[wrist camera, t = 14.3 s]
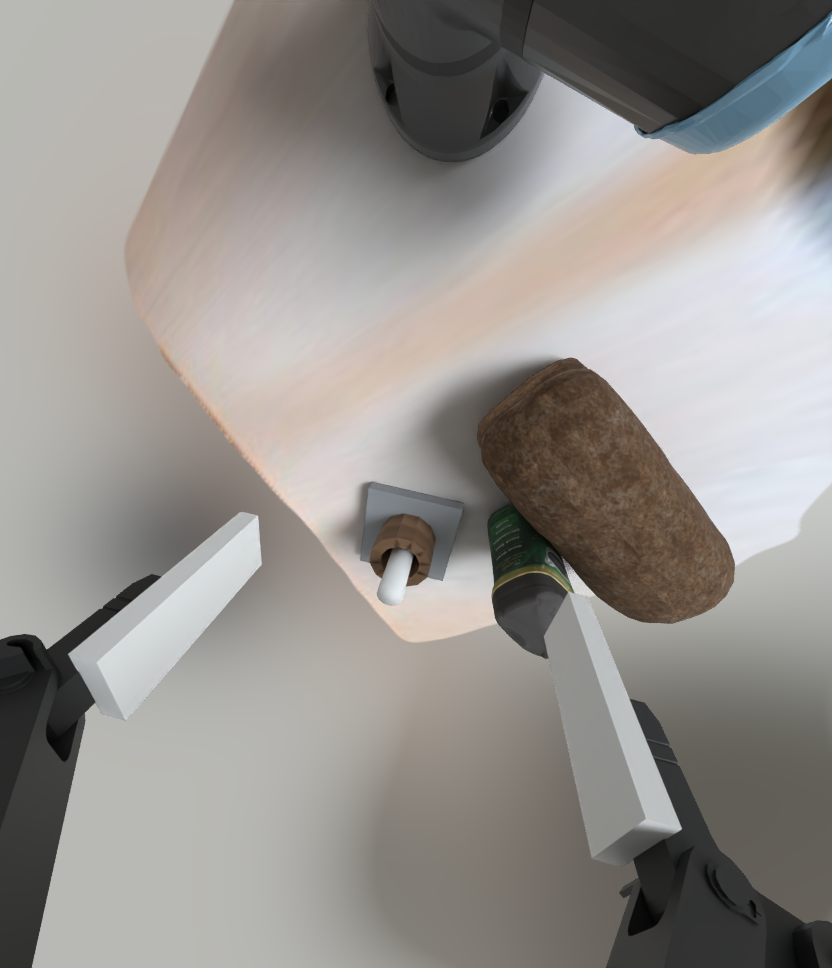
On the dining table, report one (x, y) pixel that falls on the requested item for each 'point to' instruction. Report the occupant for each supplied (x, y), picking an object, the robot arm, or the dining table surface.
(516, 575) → the coffee jar
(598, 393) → the bread
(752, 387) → the dining table surface
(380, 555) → the ring
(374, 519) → the post block
